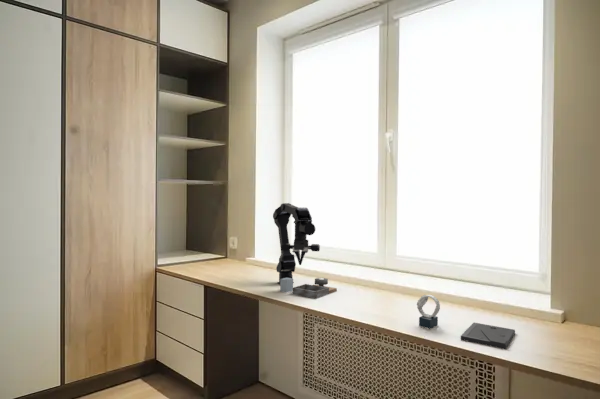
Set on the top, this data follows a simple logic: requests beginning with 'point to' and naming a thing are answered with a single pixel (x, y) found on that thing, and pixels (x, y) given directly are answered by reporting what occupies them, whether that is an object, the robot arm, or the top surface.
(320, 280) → the wheel
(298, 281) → the top surface
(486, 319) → the top surface
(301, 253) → the robot arm
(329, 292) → the tray
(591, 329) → the top surface
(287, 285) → the grey-blue block
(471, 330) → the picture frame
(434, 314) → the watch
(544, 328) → the top surface
